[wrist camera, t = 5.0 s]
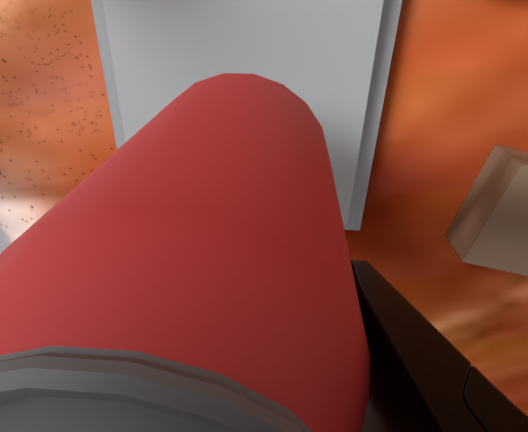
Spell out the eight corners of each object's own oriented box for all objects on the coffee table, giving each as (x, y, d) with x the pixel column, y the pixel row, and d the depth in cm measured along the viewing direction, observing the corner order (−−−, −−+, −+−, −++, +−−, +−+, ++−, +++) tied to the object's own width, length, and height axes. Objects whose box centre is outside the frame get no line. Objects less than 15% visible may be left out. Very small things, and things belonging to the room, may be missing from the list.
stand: (357, 221, 23) (362, 239, 22) (134, 208, 24) (122, 225, 22) (406, -56, 16) (420, -63, 15) (89, -65, 17) (66, -72, 15)
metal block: (504, 246, 24) (530, 276, 21) (443, 232, 24) (462, 262, 21) (562, 159, 21) (600, 182, 18) (493, 143, 21) (522, 164, 18)
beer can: (352, 193, 15) (466, 601, 5) (213, 247, 17) (93, 624, 7) (282, 33, 13) (227, 220, 2) (126, 118, 14) (-292, 432, 4)
